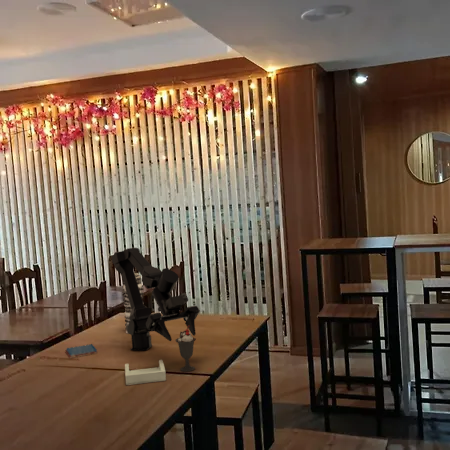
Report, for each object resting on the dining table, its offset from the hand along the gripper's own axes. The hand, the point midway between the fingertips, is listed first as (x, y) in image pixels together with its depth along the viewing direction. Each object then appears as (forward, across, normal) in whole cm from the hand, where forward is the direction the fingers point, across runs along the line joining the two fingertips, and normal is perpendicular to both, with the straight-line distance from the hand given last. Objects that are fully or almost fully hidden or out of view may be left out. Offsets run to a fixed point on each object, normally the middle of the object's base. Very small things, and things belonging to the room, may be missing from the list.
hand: (183, 337), depth 190 cm
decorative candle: (-34, +10, +48) cm, 60 cm away
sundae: (+9, 0, +6) cm, 11 cm away
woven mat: (-24, -20, +39) cm, 50 cm away
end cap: (+6, -14, +8) cm, 17 cm away
